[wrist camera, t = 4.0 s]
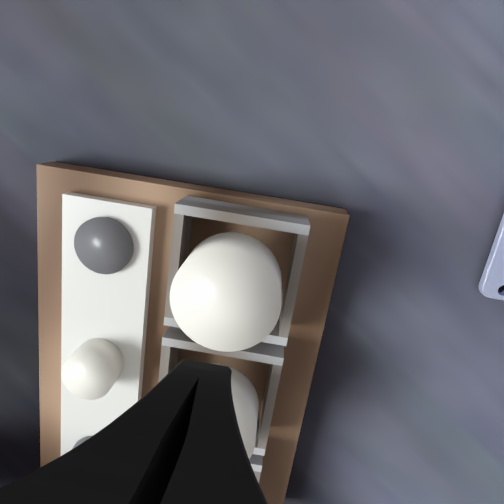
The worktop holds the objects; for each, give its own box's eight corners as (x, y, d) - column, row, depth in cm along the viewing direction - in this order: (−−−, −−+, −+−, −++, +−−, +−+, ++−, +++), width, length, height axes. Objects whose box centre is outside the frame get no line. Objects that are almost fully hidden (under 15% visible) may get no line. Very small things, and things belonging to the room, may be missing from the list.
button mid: (265, 371, 17) (262, 404, 15) (251, 444, 19) (247, 484, 17) (175, 356, 18) (160, 386, 15) (167, 429, 19) (152, 467, 17)
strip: (156, 206, 18) (140, 216, 16) (134, 481, 23) (120, 515, 21) (69, 191, 18) (42, 199, 16) (66, 468, 23) (45, 501, 21)
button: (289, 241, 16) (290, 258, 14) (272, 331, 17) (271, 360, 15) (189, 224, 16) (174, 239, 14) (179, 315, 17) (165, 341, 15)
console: (344, 208, 19) (357, 226, 16) (279, 498, 24) (279, 557, 21) (54, 161, 19) (7, 168, 16) (54, 457, 25) (19, 508, 21)
